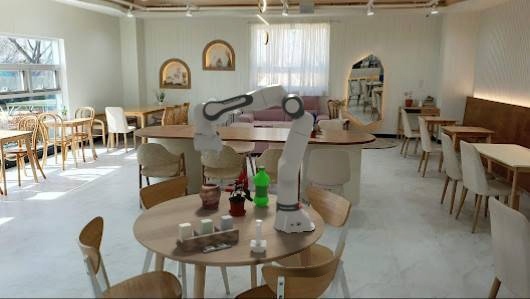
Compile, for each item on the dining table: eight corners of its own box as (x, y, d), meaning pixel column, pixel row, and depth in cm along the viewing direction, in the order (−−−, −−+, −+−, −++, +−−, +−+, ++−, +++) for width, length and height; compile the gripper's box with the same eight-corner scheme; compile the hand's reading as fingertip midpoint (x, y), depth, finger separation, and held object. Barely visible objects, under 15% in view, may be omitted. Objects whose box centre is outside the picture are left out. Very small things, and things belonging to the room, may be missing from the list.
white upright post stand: (266, 246, 193) (266, 216, 190) (265, 255, 183) (266, 224, 180) (251, 245, 193) (251, 216, 190) (250, 254, 183) (250, 224, 180)
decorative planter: (209, 200, 260) (209, 179, 257) (226, 202, 256) (226, 181, 253) (195, 209, 241) (194, 187, 238) (213, 212, 237) (213, 189, 235)
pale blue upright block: (229, 229, 207) (229, 215, 206) (232, 232, 204) (232, 217, 202) (220, 231, 205) (220, 216, 203) (223, 234, 201) (223, 219, 200)
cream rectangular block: (188, 237, 196) (188, 222, 195) (191, 240, 193) (191, 225, 191) (179, 239, 194) (178, 224, 192) (181, 242, 190) (181, 227, 189)
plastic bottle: (249, 206, 249) (250, 167, 245) (259, 201, 258) (260, 164, 253) (262, 209, 244) (263, 169, 239) (272, 205, 252) (273, 166, 247)
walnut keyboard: (228, 231, 210) (228, 221, 208) (244, 244, 194) (244, 233, 193) (176, 241, 196) (176, 231, 195) (189, 256, 180) (189, 245, 179)
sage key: (209, 233, 202) (209, 218, 200) (212, 236, 198) (212, 221, 197) (200, 235, 199) (200, 220, 198) (203, 238, 196) (203, 223, 194)
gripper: (197, 130, 199) (203, 157, 197) (222, 133, 217) (227, 157, 215) (188, 134, 202) (194, 160, 200) (213, 136, 220) (218, 160, 218)
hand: (211, 159), depth 207 cm, fingers open, 8 cm apart
